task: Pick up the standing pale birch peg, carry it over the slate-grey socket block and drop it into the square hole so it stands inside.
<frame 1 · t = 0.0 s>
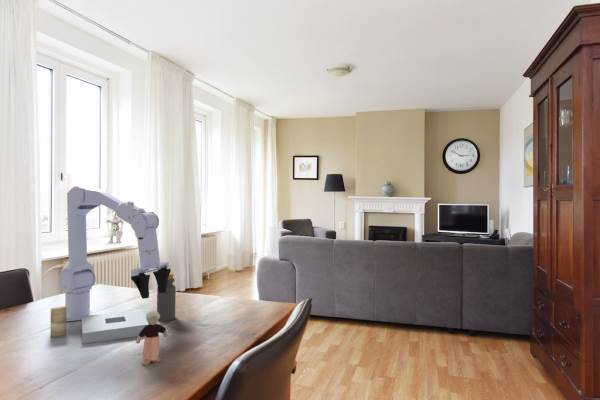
hand: (154, 295, 125), 11 cm above the table, tool pointing down, fingers open, 7 cm apart
socket block: (115, 329, 124), on the table
peg: (58, 335, 119), on the table
grandmother figurine: (152, 362, 101), on the table
bottle: (166, 319, 136), on the table
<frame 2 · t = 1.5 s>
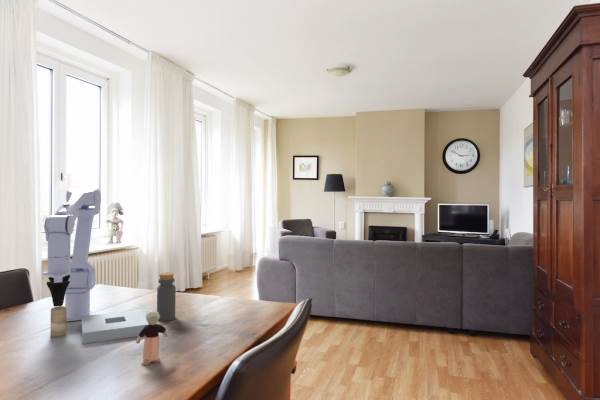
hand: (58, 302, 119), 9 cm above the table, tool pointing down, fingers open, 7 cm apart
nothing on the table moved.
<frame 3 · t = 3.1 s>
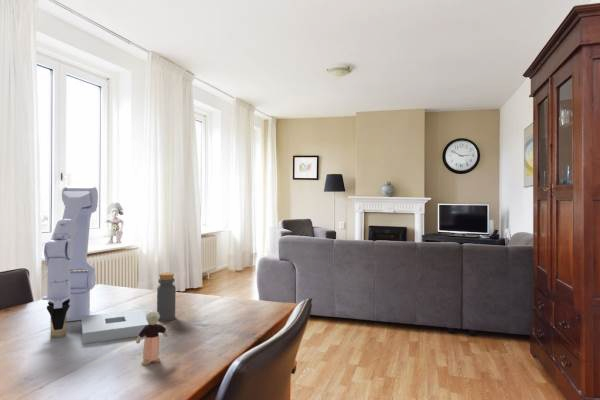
hand: (58, 327, 119), 2 cm above the table, tool pointing down, fingers closed on peg, 4 cm apart
peg: (58, 335, 119), on the table, touching gripper
everything else where it was.
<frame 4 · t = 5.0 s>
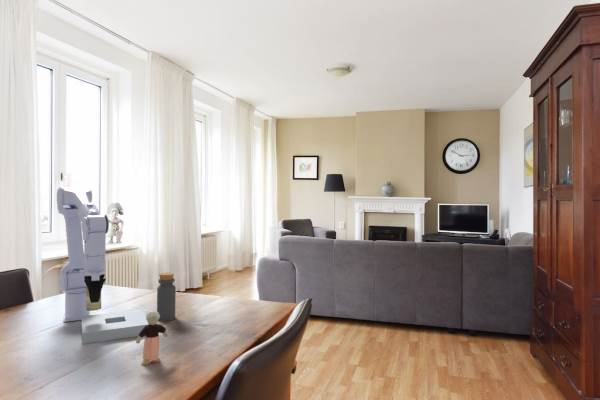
hand: (94, 300, 122), 9 cm above the table, tool pointing down, fingers closed on peg, 4 cm apart
peg: (93, 308, 122), point 7 cm above the table, touching gripper
everything else where it was.
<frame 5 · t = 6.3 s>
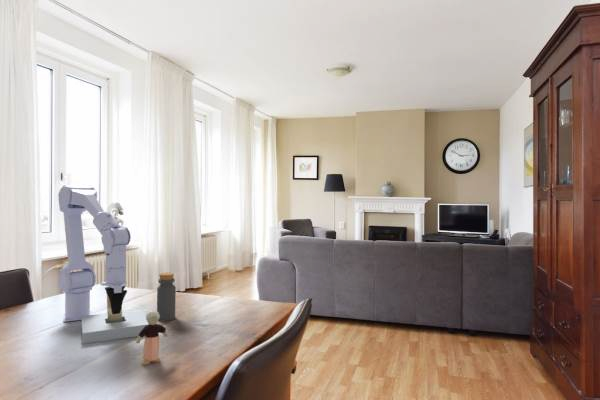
hand: (115, 311, 124), 6 cm above the table, tool pointing down, fingers closed on peg, 4 cm apart
peg: (115, 319, 124), point 3 cm above the table, touching gripper
everything else where it was.
when the fingers open (4 cm above the table, at t = 7.1 s): peg drops 1 cm, resting in socket block.
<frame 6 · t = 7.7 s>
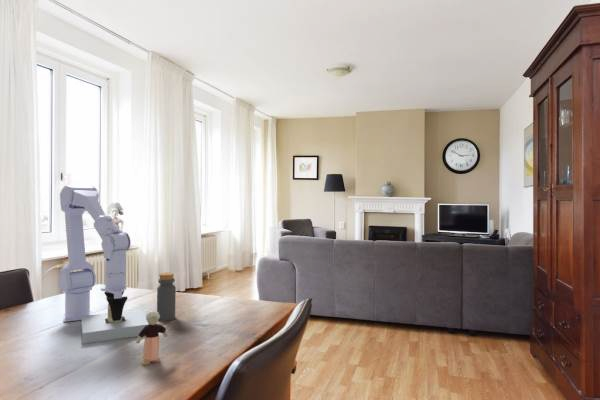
hand: (115, 317, 124), 4 cm above the table, tool pointing down, fingers open, 7 cm apart
peg: (114, 329, 124), resting in socket block
everything else where it was.
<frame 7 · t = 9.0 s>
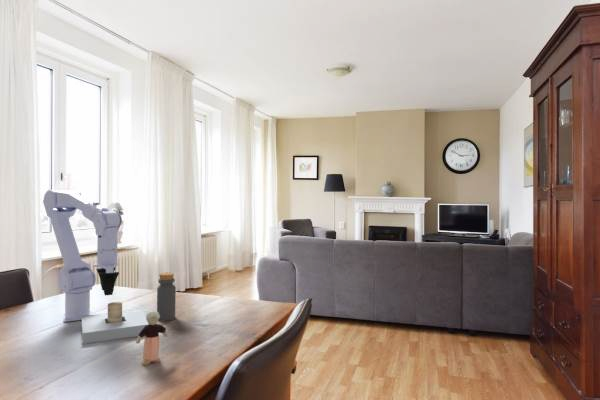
hand: (107, 292, 128), 10 cm above the table, tool pointing down, fingers open, 7 cm apart
nothing on the table moved.
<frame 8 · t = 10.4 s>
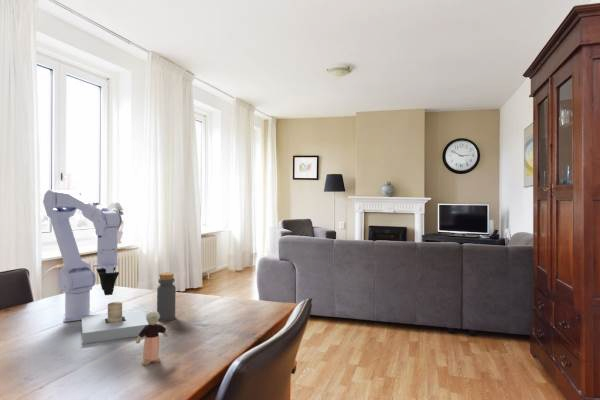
hand: (107, 292, 128), 10 cm above the table, tool pointing down, fingers open, 7 cm apart
nothing on the table moved.
at the end: peg 0.1 cm off-centre on the socket block, point 0.0 cm above the socket block's base; peg tilted 0°; the gripper is holding nothing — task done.
